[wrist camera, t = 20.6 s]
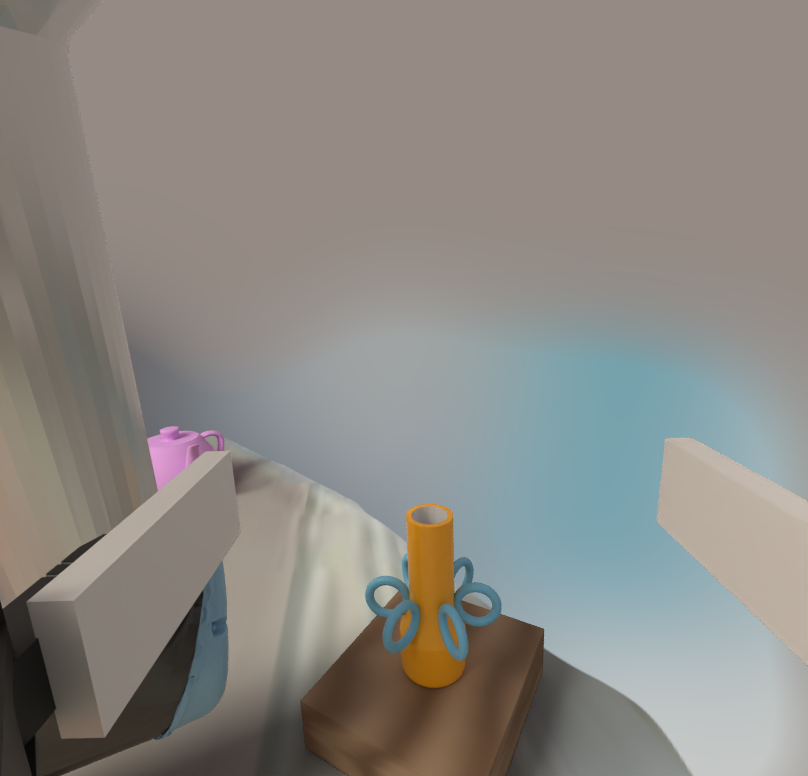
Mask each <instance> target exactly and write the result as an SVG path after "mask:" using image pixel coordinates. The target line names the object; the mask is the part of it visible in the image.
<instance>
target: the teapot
mask: <svg viewBox="0 0 808 776" xmlns="http://www.w3.org/2000/svg"><path fill="white" fill-rule="evenodd" d="M179 430H180V428H179V427H175V426H172V427H166V428H164V429H161V430H160V433H161V434H160V435H157V436H154V437H151V438H149V439H147V440H148V445H149V450H150V455H151V460H152V464H153V469H154V474H155V479H156V484H157V489H158V491H159V490H160V489H161V488H162V487H164V486H165V485H166V484H167V483H168V482H170V481H171V480H172V479H173V478H174V477H176V476H177V475H178V474H179V473H180V472H182V471H183V470H184V469H185V468H186V467H187V466H189V465H190V464H191V463H192V462H193V461H195V460H196V459H197V458H198V457H199V456H201V455H202V454H203V453H204V452H205V451H215V450H214V449H213V448H212V446H211V445H210V444H209V443H208V442H207V441H206V440H205V439H204V438H206V437H208V436H212V435H214V436H216V437H217V439H218V448H217V451H224V438H223V436H222V435H221V434H220V433H219V432H217V431H212V430H209V431H205V432H203V433H201V434H198V433H196V432H193V431H179Z"/></svg>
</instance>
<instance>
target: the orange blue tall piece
mask: <svg viewBox="0 0 808 776" xmlns="http://www.w3.org/2000/svg"><path fill="white" fill-rule="evenodd" d="M406 522H407V549H408V554H406V555H405V556H404V557H403V560H402V572H403V577H404V581H405V584H406V585H405V584H404V583H403V582H402V581H401V580H399V579H397V578H395V577H391V576H381V577H377V578H375V579H374V580H372V581H371V582H370V583H369V585H368V586H367V589H366V594H365V597H366V602H367V604H368V606H369V608H370V609H371V610H372V611H373V612H374V613H375V614H377V615H378V616H380V617H383V618H387V620H386V623H385V626H384V629H383V644H384V647H385V648H386V650H387V651H388V652H390V653H398V652H401V663H402V667H403V670H404V672H405V674H406V675H407V676H408V678H409V679H411V680H412V681H413V682H414V683H416V684H418V685H420V686H423V687H427V688H442V687H446V686H449V685H451V684H452V683H454V682H455V681H457V680H458V679H459V678H460V676H461V675H462V673H463V671H464V669H465V665H466V657H467V654H468V637H467V633H466V627H465V623H466V624H469V625H471V626H476V627H482V626H487V625H490V624H492V623H493V622H494V621H496V620H497V618H498V617H499V615H500V613H501V600H500V598H499V596H498V594H497V593H496V592H495V591H494V590H493V589H492V588H491V587H489V586H487V585H485V584H482V583H476V582H475V583H472V578H473V565H472V562H471V561H470V560H469V559H468V558H466V557H463V558H459V559H457V560H456V561H455V562H454V542H453V513H452V511H451V510H450V509H448V508H447V507H445V506H442V505H437V504H423V505H419V506H415V507H413V508H411V509H410V510H409V511H408V512H407V514H406ZM462 566H465V569H466V573H465V578H464V581H463V584H462V586H461V587H460V588H459V589H458V590H457V591H456V593H454V577H455V575H456V573H457V572H458V570H459V569H460V568H461V567H462ZM382 585H389V586H393V587H395V588H396V589H398V590H399V591H400V593H401V594H402V597H403V602H401V603H399V604H398V605H397V606H396V607H395V608H394V609H385V608H383V607H381V606H380V605H379V604H378V603H377V602H376V601H375V599H374V591H375V590H376V589H377V588H378V587H379V586H382ZM471 592H479V593H483V594H485V595H486V596H488V597H489V598H490V600H491V601H492V610H491V612H490V613H489V614H487V615H486V616H483V617H474V616H471V615H469V614H467V613H466V612H465V611H464V610H463V608H462V605H461V602H462V599H463V597H464V596H465V595H467V594H468V593H471ZM402 615H403V616H402ZM401 616H402V618H401V622H400V640H399V641H398V642H393V641H392V633H393V629H394V626H395V624H396V622H397V620H398V619H399V617H401Z"/></svg>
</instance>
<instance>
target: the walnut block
mask: <svg viewBox="0 0 808 776" xmlns="http://www.w3.org/2000/svg"><path fill="white" fill-rule="evenodd" d="M405 585H406V584H405ZM401 602H403V597H402V594H401V593H400V591H398V592H397V593H396V594H395V596H394V597H393V598H392V599H391V600H390V601H389V602H388V603H387V605H386V606H385V607H384V608H385V609H394V608H395V607H396V606H397V605H398V604H399V603H401ZM461 605H462V608H463V610H464V611H465V612H466V613H467V614H469V615H471V616H474V617H483V616H486V615H487V614H489V613H490V612H491V610H488V609H485V608H482V607H479V606H476V605H473V604H470V603H468V602H465V601H462V602H461ZM402 616H403V615H402ZM402 616H401V617H399V619H398V620H397V622H396V624H395V626H394V629H393V633H392V641H393V642H398V641H399V640H400V622H401V618H402ZM386 620H387V618H383V617H380V616H378V615H377V616H376V617H375V618H374V619H373V620H372V621H371V623H370V624H369V625H368V626H367V627H366V628H365V629H364V630H363V632H362V633H361V634H360V635H359V636H358V637H357V638H356V639H355V641H354V642H353V643H352V644H351V645H350V646H349V647H348V648H347V650H346V651H345V652H344V653H343V654H342V655H341V656H340V657H339V659H338V660H337V661H336V662H335V663H334V664H333V665H332V666H331V668H330V669H329V670H328V671H327V672H326V673H325V674H324V675H323V677H322V678H321V679H320V680H319V681H318V682H317V683H316V684H315V686H314V687H313V688H312V689H311V690H310V691H309V692H308V693H307V694H306V696H305V697H304V698H303V699H302V700H301V709H302V719H303V728H304V738H305V747H306V749H308V750H310V751H311V752H313V753H314V754H316V755H317V756H319V757H320V758H322V759H323V760H325V761H327V762H328V763H330V764H331V765H333V766H334V767H336V768H337V769H339V770H340V771H342V772H344V773H345V774H347V775H348V776H506V775H507V772H508V769H509V766H510V763H511V761H512V758H513V755H514V752H515V749H516V746H517V743H518V740H519V737H520V735H521V732H522V729H523V726H524V723H525V720H526V717H527V714H528V711H529V708H530V706H531V703H532V700H533V697H534V694H535V691H536V688H537V685H538V682H539V679H540V677H541V674H542V671H543V647H544V629H543V628H540V627H537V626H534V625H531V624H528V623H525V622H522V621H519V620H517V619H514V618H511V617H508V616H505V615H502V614H500V615H499V617H498V618H497V620H496V621H494V622H493V623H492V624H490V625H487V626H482V627H476V626H471V625H469V624H466V623H465V627H466V633H467V637H468V654H467V657H466V665H465V669H464V671H463V673H462V675H461V676H460V678H459V679H458V680H457V681H455V682H454V683H452V684H451V685H449V686H446V687H442V688H427V687H423V686H420V685H418V684H416V683H414V682H413V681H412V680H411V679H409V678H408V676H407V675H406V674H405V672H404V670H403V667H402V663H401V652H398V653H390V652H388V651H387V650H386V648H385V647H384V644H383V629H384V626H385V623H386Z"/></svg>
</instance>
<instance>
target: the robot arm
mask: <svg viewBox="0 0 808 776" xmlns="http://www.w3.org/2000/svg"><path fill="white" fill-rule="evenodd" d="M103 1H104V0H0V776H61V775H64V774H66V773H69V772H71V771H74V770H76V769H79V768H81V767H83V766H86V765H88V764H91V763H93V762H96V761H98V760H101V759H103V758H106V757H108V756H111V755H113V754H116V753H118V752H121V751H123V750H126V749H128V748H131V747H134V746H136V745H139V744H141V743H144V742H146V741H149V740H152V739H156V740H158V739H162V738H165V737H167V736H169V735H170V734H171V733H172V732H173V731H174V730H175V729H177V728H179V727H181V726H183V725H185V724H188V723H190V722H192V721H194V720H196V719H198V718H200V717H203V716H204V715H206V714H208V713H209V712H210V711H211V710H213V709H214V708H215V707H216V705H217V704H218V703H219V701H220V699H221V697H222V695H223V693H224V690H225V686H226V681H227V673H228V628H227V624H226V620H227V596H226V585H225V575H224V567H223V559H224V557H225V556H226V554H227V553H228V551H229V550H230V548H231V547H232V545H233V544H234V542H235V540H236V539H237V537H238V536H239V534H240V533H241V530H240V522H239V514H238V506H237V498H236V490H235V482H234V475H233V467H232V459H231V451H205V452H204V453H203V454H202V455H201V456H199V457H198V458H197V459H196V460H195V461H193V462H192V463H191V464H190V465H189V466H187V467H186V468H185V469H184V470H183V471H182V472H180V473H179V474H178V475H177V476H176V477H174V478H173V479H172V480H171V481H170V482H168V483H167V484H166V485H165V486H164V487H162V488H161V489H160V490H159V491H158V489H157V484H156V479H155V474H154V469H153V464H152V460H151V455H150V450H149V445H148V440H147V435H146V431H145V426H144V421H143V416H142V411H141V407H140V402H139V397H138V392H137V387H136V382H135V377H134V372H133V368H132V363H131V358H130V353H129V348H128V344H127V339H126V334H125V329H124V324H123V319H122V314H121V309H120V305H119V300H118V295H117V291H116V286H115V281H114V276H113V271H112V266H111V261H110V256H109V252H108V247H107V242H106V237H105V232H104V228H103V222H102V217H101V213H100V208H99V203H98V198H97V193H96V189H95V184H94V179H93V174H92V169H91V165H90V159H89V155H88V150H87V145H86V140H85V135H84V131H83V126H82V121H81V116H80V111H79V106H78V101H77V97H76V92H75V87H74V82H73V77H72V72H71V68H70V63H69V58H68V52H69V42H70V39H71V36H72V35H73V34H74V33H75V32H76V31H77V30H78V29H79V28H80V27H81V26H82V25H83V24H84V23H85V21H86V20H87V19H88V18H89V17H90V16H91V15H92V14H93V13H94V12H95V11H96V10H97V9H98V7H99V6H100V5H101V4H102V3H103ZM657 523H659V524H660V525H661V526H662V527H663V528H664V529H665V530H666V531H667V532H668V533H669V534H670V535H671V536H672V537H673V538H674V539H675V540H676V541H677V542H678V543H679V544H681V545H682V546H683V547H684V548H685V549H686V550H687V551H688V552H689V553H690V554H691V555H692V556H693V557H694V558H695V559H696V560H697V561H698V562H699V563H700V564H701V565H703V566H704V567H705V568H706V569H707V570H708V571H709V572H710V573H711V574H712V575H713V576H714V577H715V578H716V579H717V580H718V581H719V582H720V583H721V584H722V585H724V587H726V588H727V589H728V590H729V591H730V592H731V593H732V594H733V595H734V596H735V597H736V598H737V599H738V600H739V601H740V602H741V603H742V604H743V605H744V606H745V607H747V608H748V609H749V610H750V611H751V612H752V613H753V614H754V615H755V616H756V617H757V618H758V619H759V620H760V621H761V622H762V623H763V624H764V625H765V626H766V627H767V628H768V629H770V630H771V631H772V632H773V633H774V634H775V635H776V636H777V637H778V638H779V639H780V640H781V641H782V642H783V643H784V644H785V645H786V646H787V647H789V649H791V650H792V651H793V652H794V653H795V654H796V655H797V656H798V657H799V658H800V659H801V660H802V661H803V662H804V663H805V664H807V666H808V501H806V500H804V499H802V498H801V497H799V496H797V495H795V494H793V493H792V492H790V491H788V490H786V489H784V488H782V487H780V486H779V485H777V484H775V483H773V482H771V481H770V480H768V479H766V478H764V477H762V476H760V475H759V474H757V473H755V472H753V471H751V470H749V469H747V468H745V467H744V466H742V465H740V464H738V463H736V462H735V461H733V460H731V459H729V458H727V457H725V456H724V455H722V454H720V453H718V452H716V451H714V450H713V449H711V448H709V447H707V446H705V445H703V444H701V443H700V442H698V441H696V440H694V439H692V438H666V439H665V446H664V456H663V466H662V474H661V484H660V493H659V503H658V512H657Z"/></svg>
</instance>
